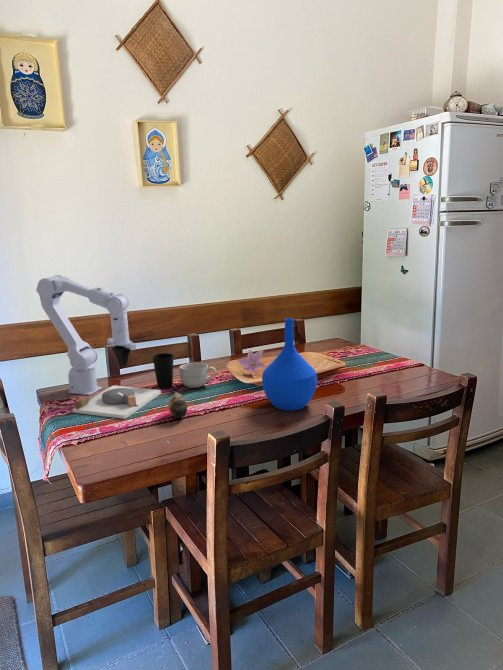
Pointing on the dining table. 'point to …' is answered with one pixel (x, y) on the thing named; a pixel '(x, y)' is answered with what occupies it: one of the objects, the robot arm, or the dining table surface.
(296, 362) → the vase
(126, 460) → the dining table surface
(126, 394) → the grey handled disc
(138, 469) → the dining table surface
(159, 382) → the cup
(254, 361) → the lily
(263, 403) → the dining table surface
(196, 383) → the teacup
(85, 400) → the screwdriver
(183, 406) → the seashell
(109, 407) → the board
